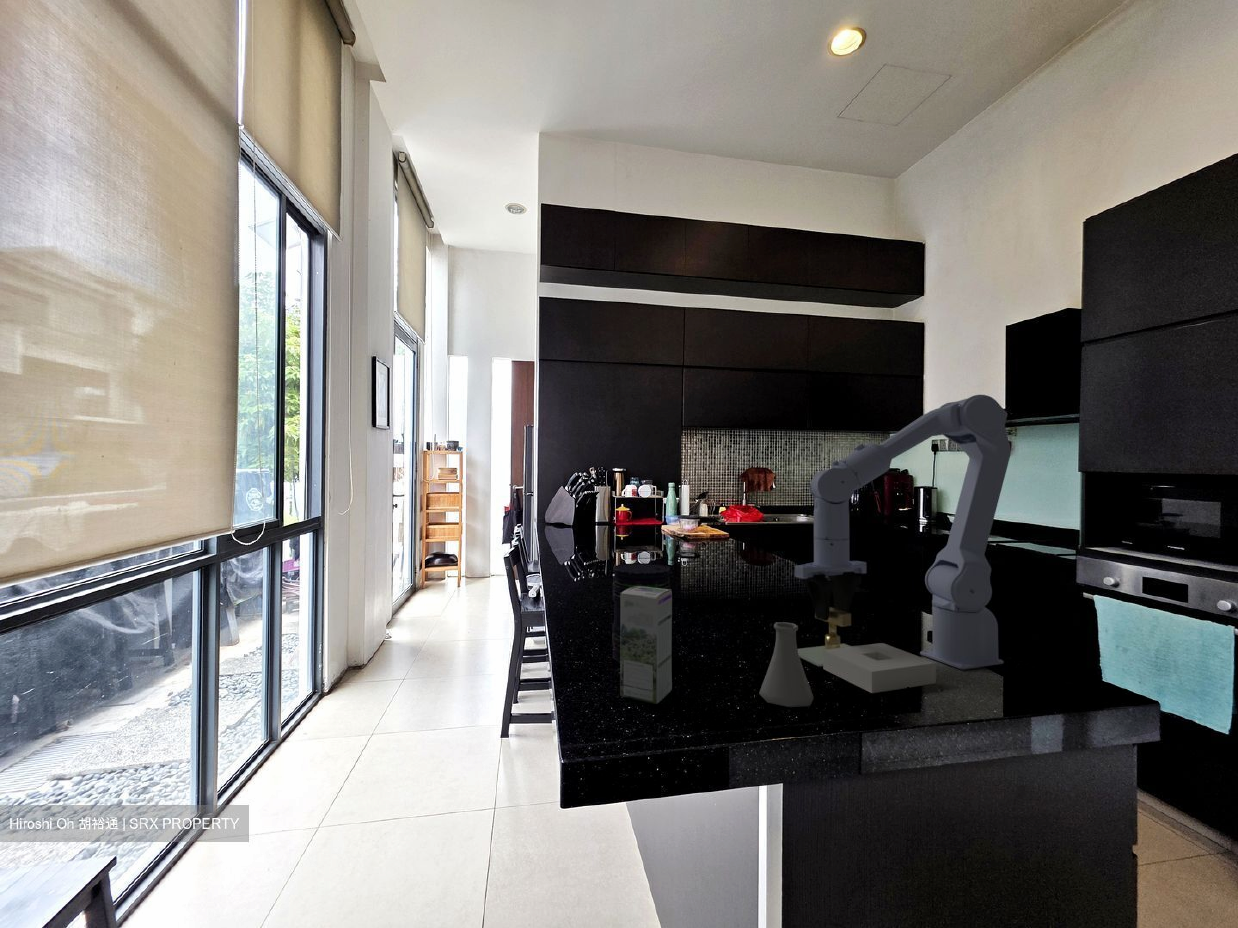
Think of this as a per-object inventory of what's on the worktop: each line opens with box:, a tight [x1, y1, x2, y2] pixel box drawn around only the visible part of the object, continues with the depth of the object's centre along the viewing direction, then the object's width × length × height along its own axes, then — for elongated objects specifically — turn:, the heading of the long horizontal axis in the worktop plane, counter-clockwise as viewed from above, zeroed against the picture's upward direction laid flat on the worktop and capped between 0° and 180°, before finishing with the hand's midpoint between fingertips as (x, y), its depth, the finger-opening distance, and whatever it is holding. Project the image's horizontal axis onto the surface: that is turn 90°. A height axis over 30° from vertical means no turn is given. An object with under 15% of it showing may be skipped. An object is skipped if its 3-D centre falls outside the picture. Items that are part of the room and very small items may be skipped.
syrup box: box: [619, 586, 673, 705], centre depth 74 cm, size 6×6×14 cm
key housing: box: [822, 642, 937, 694], centre depth 81 cm, size 12×10×3 cm
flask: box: [758, 621, 814, 708], centre depth 73 cm, size 7×7×10 cm
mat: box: [797, 643, 852, 667], centre depth 90 cm, size 12×8×1 cm, turn 109°
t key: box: [814, 607, 852, 650], centre depth 90 cm, size 6×2×8 cm, turn 24°
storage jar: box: [611, 562, 671, 663], centre depth 90 cm, size 10×10×15 cm
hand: (831, 617), depth 91 cm, fingers open, 4 cm apart
